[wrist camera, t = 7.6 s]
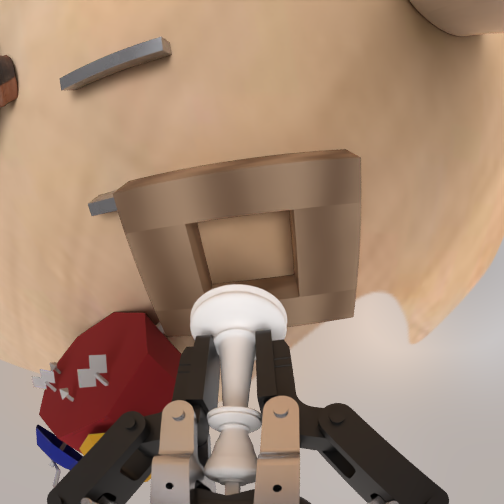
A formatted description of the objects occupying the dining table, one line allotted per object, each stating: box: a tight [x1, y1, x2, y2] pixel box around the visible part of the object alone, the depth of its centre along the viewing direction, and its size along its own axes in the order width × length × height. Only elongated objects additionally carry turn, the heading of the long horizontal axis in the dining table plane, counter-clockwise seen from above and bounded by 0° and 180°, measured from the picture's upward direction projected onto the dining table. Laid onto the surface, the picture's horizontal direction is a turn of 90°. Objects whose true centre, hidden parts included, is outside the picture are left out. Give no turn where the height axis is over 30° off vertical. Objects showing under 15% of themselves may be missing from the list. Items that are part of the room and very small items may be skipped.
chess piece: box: [190, 284, 287, 495], centre depth 10 cm, size 5×5×10 cm
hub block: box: [113, 149, 361, 337], centre depth 21 cm, size 16×13×3 cm
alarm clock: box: [32, 312, 181, 487], centre depth 18 cm, size 15×9×20 cm, turn 115°
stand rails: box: [60, 37, 171, 216], centre depth 16 cm, size 8×11×2 cm
